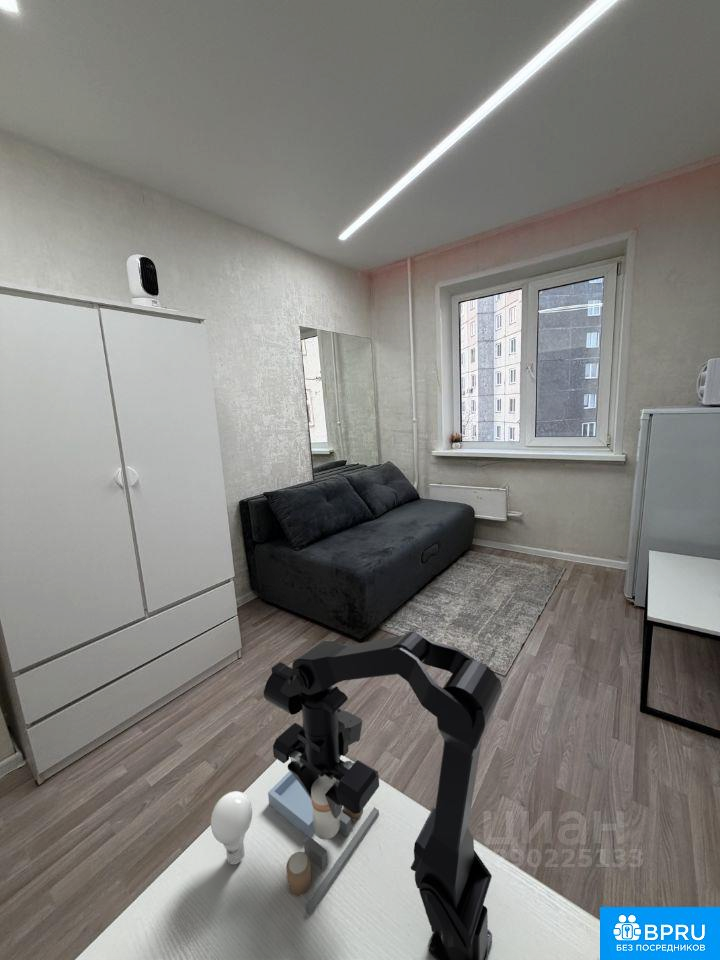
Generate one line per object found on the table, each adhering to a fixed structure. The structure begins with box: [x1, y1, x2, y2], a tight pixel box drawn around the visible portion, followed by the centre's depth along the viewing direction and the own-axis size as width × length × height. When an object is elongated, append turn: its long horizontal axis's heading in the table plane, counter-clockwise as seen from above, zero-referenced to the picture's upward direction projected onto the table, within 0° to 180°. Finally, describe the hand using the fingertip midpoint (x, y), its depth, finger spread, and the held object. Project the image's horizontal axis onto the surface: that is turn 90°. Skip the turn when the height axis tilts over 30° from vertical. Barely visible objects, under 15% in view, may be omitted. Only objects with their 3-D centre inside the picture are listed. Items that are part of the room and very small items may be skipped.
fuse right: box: [342, 806, 364, 821], centre depth 69 cm, size 4×4×4 cm
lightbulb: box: [210, 790, 253, 865], centre depth 61 cm, size 6×6×11 cm
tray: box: [267, 770, 334, 838], centre depth 72 cm, size 11×11×2 cm
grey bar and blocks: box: [303, 806, 380, 916], centre depth 63 cm, size 6×18×2 cm, turn 143°
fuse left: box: [285, 851, 312, 897], centre depth 58 cm, size 4×4×4 cm
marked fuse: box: [311, 776, 340, 840], centre depth 63 cm, size 4×4×7 cm
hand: (326, 808), depth 63 cm, fingers closed on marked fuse, 4 cm apart
